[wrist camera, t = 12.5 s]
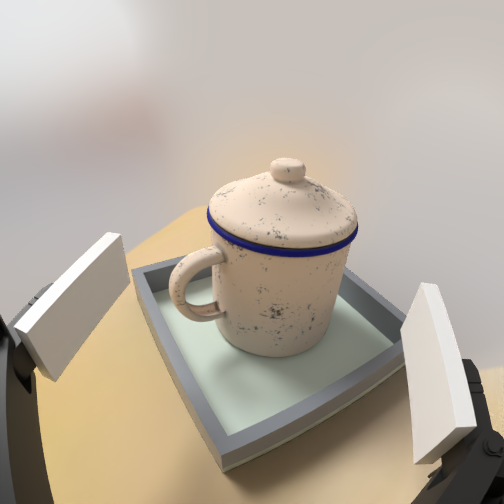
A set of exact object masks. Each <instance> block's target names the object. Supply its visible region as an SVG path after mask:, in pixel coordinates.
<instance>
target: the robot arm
mask: <svg viewBox="0 0 504 504" xmlns="http://www.w3.org/2000/svg"><path fill="white" fill-rule="evenodd" d="M129 283H130V278H129V273H128V269H127V264H126V259H125V253H124V248H123V243H122V237H121V234H117V233H110V232H107V233H106V234H105V235H104V236H103V237H102V238H101V239H100V240H99V241H97V242H96V243H95V244H94V245H93V246H92V247H91V248H90V249H89V250H88V251H87V252H86V253H85V254H84V255H82V256H81V257H80V258H79V259H78V260H77V261H76V262H75V263H74V264H73V265H72V266H71V267H70V268H69V269H68V270H67V271H66V272H65V273H64V274H63V275H62V276H61V277H60V278H59V279H58V280H57V281H56V282H55V283H51V284H49V285H47V286H46V287H44V288H43V289H41V290H40V291H39V292H38V293H37V294H36V295H35V297H34V298H32V300H31V301H30V302H29V303H28V305H26V306H25V307H24V308H23V309H22V310H21V311H20V312H19V313H18V315H17V316H16V317H15V318H14V319H13V320H12V321H11V322H10V323H9V324H8V325H7V326H6V325H5V323H4V321H3V319H2V317H1V315H0V504H54V501H53V497H52V493H51V489H50V484H49V480H48V475H47V470H46V465H45V459H44V453H43V447H42V440H41V433H40V425H39V416H38V405H37V392H36V376H35V373H34V371H33V370H34V369H35V368H36V366H37V368H38V369H39V371H40V372H41V374H42V375H43V376H45V377H47V378H48V379H50V380H52V381H54V382H56V381H57V380H58V378H59V377H60V375H61V374H62V372H63V371H64V370H65V368H66V367H67V365H68V364H69V363H70V361H71V360H72V358H73V357H74V356H75V354H76V353H77V351H78V350H79V349H80V347H81V346H82V344H83V343H84V342H85V340H86V339H87V338H88V336H89V335H90V334H91V332H92V331H93V330H94V328H95V327H96V326H97V324H98V323H99V322H100V320H101V319H102V318H103V316H104V315H105V314H106V313H107V311H108V310H109V309H110V307H111V306H112V305H113V304H114V302H115V301H116V300H117V298H118V297H119V296H120V295H121V293H122V292H123V291H124V290H125V288H126V287H127V286H128V285H129ZM400 331H401V337H402V344H403V350H404V357H405V364H406V372H407V380H408V388H409V398H410V408H411V421H412V435H413V457H414V465H419V464H433V463H434V462H436V461H437V460H438V459H439V458H441V459H442V465H441V466H440V467H439V468H437V469H436V470H435V471H433V472H432V473H431V474H430V475H428V476H427V477H428V478H430V477H432V478H431V479H430V480H429V482H428V483H427V484H426V486H425V487H424V488H423V489H422V491H421V492H420V493H419V494H418V496H417V497H416V498H415V499H414V501H413V502H412V503H411V504H504V439H503V437H502V436H501V435H500V434H499V433H498V432H496V431H494V430H493V429H492V425H491V420H490V416H489V411H488V407H487V402H486V398H485V394H483V392H484V390H483V387H482V384H481V379H480V375H479V372H478V370H477V368H476V367H475V365H474V364H473V362H472V361H471V360H470V359H461V356H460V352H459V349H458V345H457V342H456V339H455V335H454V332H453V329H452V326H451V323H450V320H449V317H448V314H447V311H446V308H445V305H444V302H443V300H442V297H441V294H440V291H439V289H438V286H437V285H435V284H429V283H421V284H420V287H419V289H418V292H417V294H416V296H415V299H414V301H413V303H412V306H411V308H410V310H409V312H408V315H407V317H406V319H405V321H404V323H403V325H402V327H401V329H400Z"/></svg>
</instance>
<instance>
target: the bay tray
mask: <svg viewBox="0 0 504 504" xmlns="http://www.w3.org/2000/svg"><path fill="white" fill-rule="evenodd" d="M186 256H187V255H186ZM186 256H182V257H178V258H174V259H170V260H166V261H163V262H159V263H155V264H151V265H147V266H144V267H140V268H136V269H132V270H131V271H132V276H133V281H134V285H135V290H136V294H137V299H138V301H139V304H140V306H141V309H142V311H143V314H144V316H145V319H146V321H147V324H148V326H149V328H150V331H151V333H152V336H153V338H154V340H155V343H156V345H157V347H158V349H159V352H160V354H161V356H162V358H163V361H164V363H165V365H166V367H167V369H168V371H169V373H170V376H171V378H172V380H173V382H174V384H175V386H176V388H177V390H178V392H179V394H180V396H181V398H182V400H183V402H184V404H185V406H186V408H187V410H188V412H189V414H190V416H191V418H192V419H193V421H194V423H195V425H196V427H197V429H198V431H199V432H200V434H201V436H202V438H203V440H204V441H205V443H206V445H207V447H208V449H209V450H210V452H211V454H212V455H213V457H214V459H215V461H216V462H217V464H218V466H219V467H220V469H221V471H222V472H223V473H224V472H226V471H228V470H231V469H233V468H235V467H237V466H240V465H242V464H244V463H246V462H248V461H251V460H253V459H255V458H257V457H259V456H261V455H263V454H265V453H267V452H269V451H271V450H273V449H275V448H277V447H279V446H281V445H283V444H285V443H286V442H288V441H290V440H292V439H294V438H296V437H297V436H299V435H301V434H303V433H305V432H306V431H308V430H310V429H312V428H313V427H315V426H317V425H318V424H320V423H322V422H323V421H325V420H327V419H328V418H330V417H331V416H333V415H335V414H336V413H338V412H339V411H341V410H343V409H344V408H346V407H347V406H349V405H350V404H352V403H353V402H355V401H356V400H358V399H359V398H361V397H362V396H364V395H365V394H367V393H368V392H369V391H371V390H372V389H374V388H375V387H376V386H378V385H379V384H381V383H382V382H383V381H385V380H386V379H387V378H389V377H390V376H391V375H393V374H394V373H395V372H397V371H398V370H399V369H401V368H402V367H403V366H404V365H406V364H405V357H404V350H403V344H402V337H401V331H400V329H401V327H402V325H403V323H404V321H405V319H406V317H407V316H406V315H404V314H403V313H402V312H401V311H400V310H399V309H397V308H396V307H395V306H394V305H393V304H391V303H390V302H389V301H388V300H386V299H385V298H384V297H383V296H381V295H380V294H379V293H378V292H376V291H375V290H374V289H373V288H372V287H370V286H369V285H368V284H367V283H365V282H364V281H363V280H362V279H360V278H359V277H358V276H357V275H355V274H354V273H353V272H351V271H350V270H349V269H348V268H346V267H345V268H344V272H343V276H342V280H341V283H340V287H339V291H338V295H337V298H336V302H335V305H334V309H333V312H332V316H331V319H330V323H329V326H328V329H327V331H326V333H325V335H324V336H323V337H322V339H321V340H320V341H319V342H318V343H317V344H315V345H314V346H313V347H311V348H310V349H308V350H306V351H304V352H301V353H299V354H295V355H291V356H285V357H266V356H260V355H255V354H252V353H249V352H247V351H244V350H242V349H240V348H238V347H237V346H235V345H233V344H232V343H231V342H229V341H228V340H227V339H226V338H225V337H224V336H223V335H222V333H221V332H220V330H219V329H218V327H217V325H216V322H215V320H213V321H208V322H196V321H192V320H190V319H188V318H186V317H185V316H183V315H182V314H181V313H180V312H179V311H178V309H177V308H176V307H175V305H174V303H173V302H172V299H171V297H170V293H169V279H170V276H171V273H172V271H173V270H174V268H175V267H176V266H177V264H178V263H179V262H180V261H181V260H182V259H183V258H185V257H186ZM185 298H186V301H187V302H188V303H190V304H193V305H204V304H208V303H212V302H213V284H212V266H210V267H207V268H205V269H203V270H201V271H199V272H198V273H197V274H196V275H194V276H193V277H192V279H191V280H190V281H189V283H188V284H187V286H186V290H185Z"/></svg>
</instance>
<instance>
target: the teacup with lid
mask: <svg viewBox="0 0 504 504" xmlns="http://www.w3.org/2000/svg"><path fill="white" fill-rule="evenodd" d="M305 172H306V168H305V165H304V164H303V163H302V162H301V161H299V160H296V159H292V158H278V159H275V160H274V161H273V162H272V163H271V166H270V172H264V173H261V174H258V175H256V176H254V177H252V178H246V179H241V180H237V181H234V182H231V183H229V184H227V185H225V186H223V187H222V188H220V189H219V190H218V191H217V192H216V193H215V194H214V196H213V197H212V199H211V201H210V204H209V206H208V209H207V219H208V222H209V224H210V226H211V247H207V248H203V249H200V250H197V251H195V252H193V253H191V254H189V255H187V256H186V257H185V258H183V259H182V260H181V261H180V262H179V263H178V264H177V266H176V267H175V268H174V270H173V271H172V273H171V276H170V279H169V293H170V297H171V299H172V302H173V303H174V305H175V307H176V308H177V309H178V311H179V312H180V313H181V314H182V315H183V316H185V317H186V318H188V319H190V320H192V321H196V322H208V321H213V320H215V322H216V325H217V327H218V329H219V330H220V332H221V333H222V335H223V336H224V337H225V338H226V339H227V340H228V341H229V342H231V343H232V344H233V345H235V346H237V347H238V348H240V349H242V350H244V351H247V352H249V353H252V354H255V355H260V356H266V357H285V356H291V355H295V354H299V353H301V352H304V351H306V350H308V349H310V348H311V347H313V346H314V345H315V344H317V343H318V342H319V341H320V340H321V339H322V337H323V336H324V335H325V333H326V331H327V329H328V326H329V323H330V319H331V316H332V312H333V309H334V305H335V302H336V298H337V295H338V291H339V287H340V283H341V280H342V276H343V272H344V268H345V264H346V260H347V256H348V252H349V248H350V244H351V242H352V241H353V240H354V238H355V237H356V234H357V231H358V222H357V215H356V212H355V210H354V208H353V206H352V205H351V203H350V202H349V201H348V200H347V199H345V198H344V197H343V196H342V195H341V194H339V193H337V192H336V191H334V190H332V189H330V188H327V187H325V186H323V185H321V184H319V183H318V182H317V181H315V180H314V179H312V178H310V177H308V176H305ZM210 266H212V284H213V302H212V303H208V304H204V305H193V304H190V303H188V302H187V301H186V298H185V290H186V286H187V284H188V283H189V281H190V280H191V279H192V277H193V276H194V275H196V274H197V273H198V272H199V271H201V270H203V269H205V268H207V267H210Z"/></svg>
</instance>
